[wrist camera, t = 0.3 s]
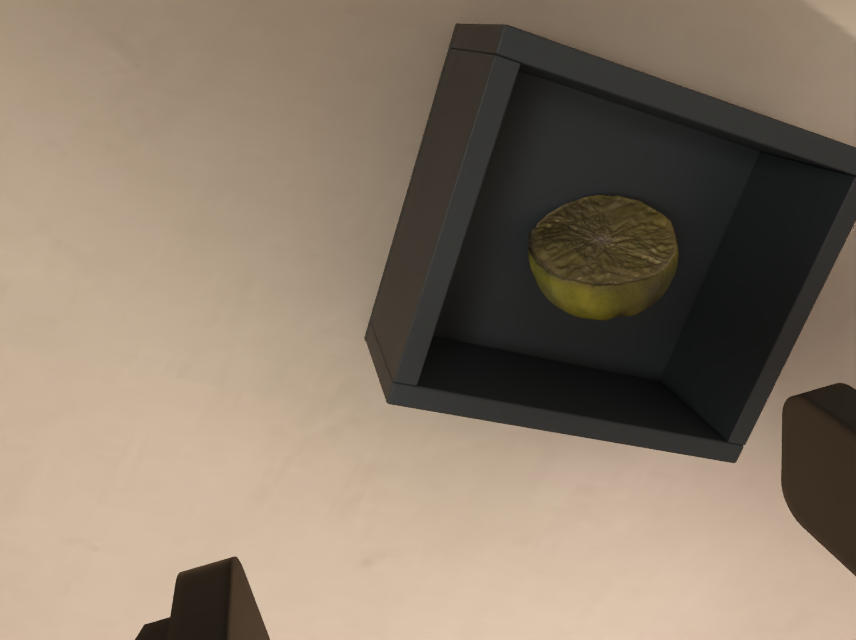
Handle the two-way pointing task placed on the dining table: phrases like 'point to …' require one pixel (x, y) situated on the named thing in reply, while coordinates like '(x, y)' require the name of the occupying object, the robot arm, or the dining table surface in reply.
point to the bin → (605, 175)
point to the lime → (603, 256)
